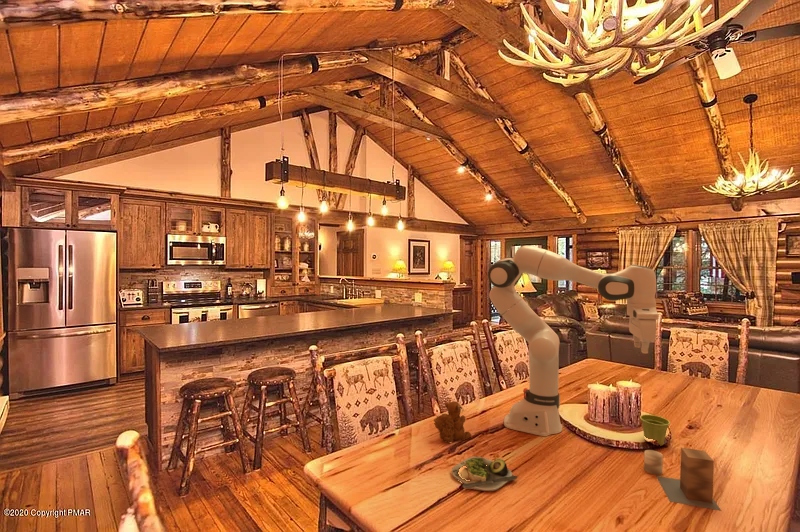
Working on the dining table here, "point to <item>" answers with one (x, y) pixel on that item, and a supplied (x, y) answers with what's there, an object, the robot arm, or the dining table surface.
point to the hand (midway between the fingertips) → (640, 350)
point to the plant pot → (655, 427)
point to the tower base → (696, 488)
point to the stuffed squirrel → (451, 423)
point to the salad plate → (484, 473)
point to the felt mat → (681, 494)
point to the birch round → (653, 462)
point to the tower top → (697, 464)
